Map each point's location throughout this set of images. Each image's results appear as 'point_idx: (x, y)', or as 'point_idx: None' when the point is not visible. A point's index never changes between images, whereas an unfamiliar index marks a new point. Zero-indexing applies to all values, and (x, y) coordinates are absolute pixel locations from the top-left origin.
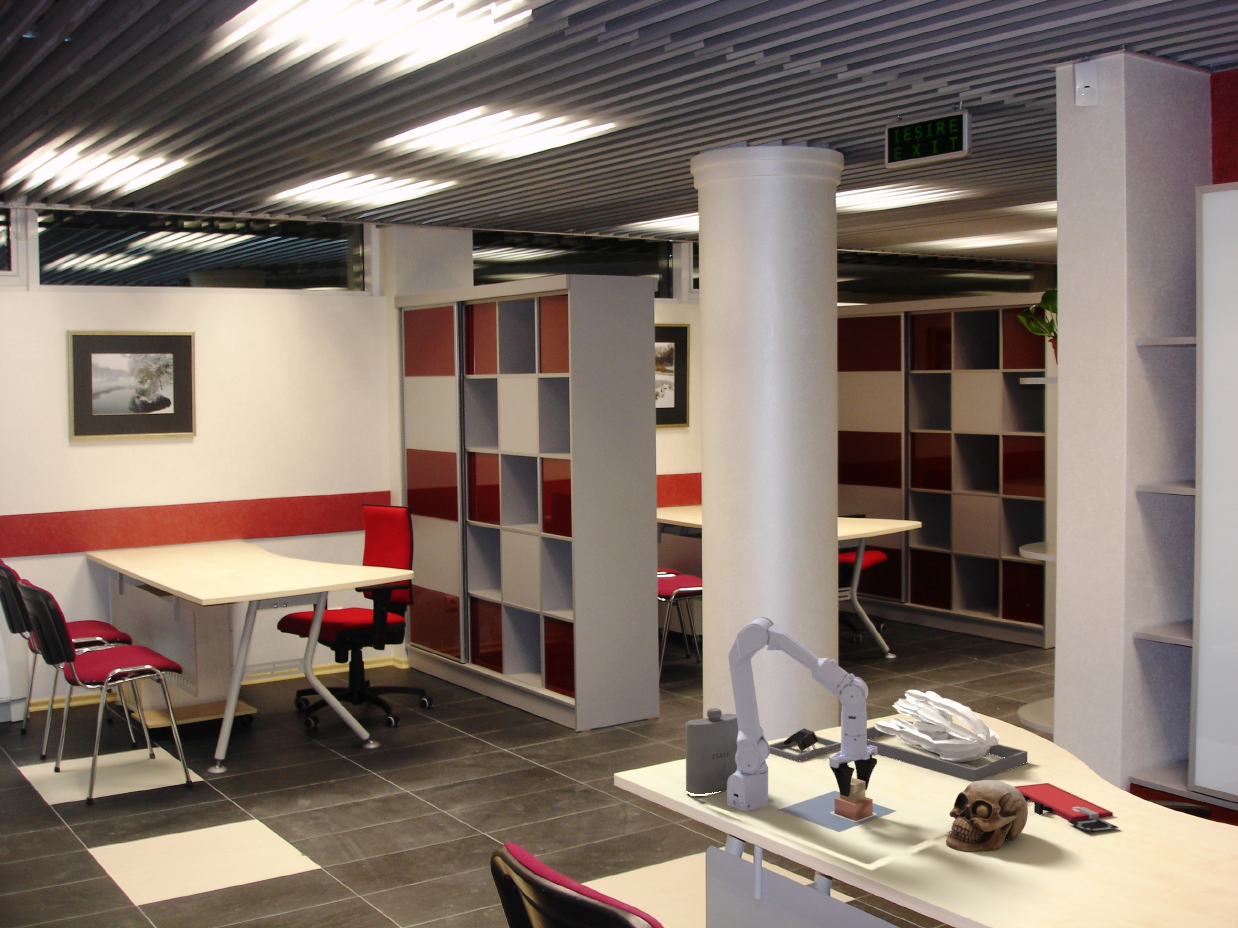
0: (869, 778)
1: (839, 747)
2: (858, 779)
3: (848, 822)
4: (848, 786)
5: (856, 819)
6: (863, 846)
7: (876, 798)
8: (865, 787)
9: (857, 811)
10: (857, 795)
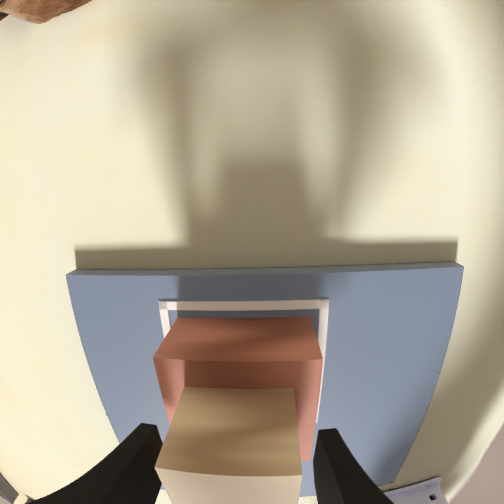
0: (102, 464)
1: (29, 500)
2: (172, 497)
3: (352, 319)
4: (357, 472)
5: (301, 318)
6: (462, 125)
7: (55, 396)
8: (150, 435)
9: (297, 337)
10: (258, 413)
